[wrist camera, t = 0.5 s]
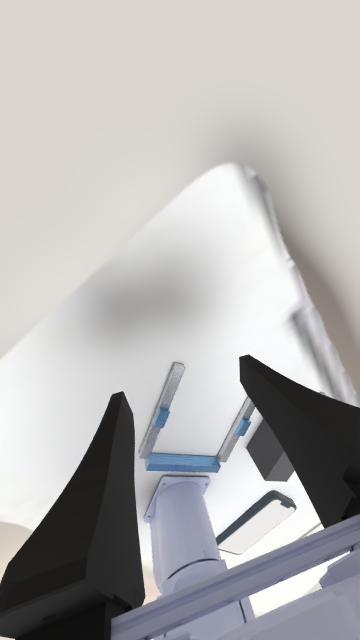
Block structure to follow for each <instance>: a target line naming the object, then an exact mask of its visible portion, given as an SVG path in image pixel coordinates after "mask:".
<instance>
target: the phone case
mask: <svg viewBox="0 0 360 640" xmlns="http://www.w3.org/2000/svg"><path fill="white" fill-rule="evenodd" d="M295 510H296V505H295V504H294V502H293V500H291V499H289V498H287V497H286V496H284V495H282V494H280V493H278V492H276V491H270V492H268V493H267V494H266V495H265V496H264V497H262V498H261V499H260V500H259V501H258V502H257V503H255V504H254V505H253V506H252V507H251V508H250V509H249V510H247V511H246V512H245V513H244V514H243V515H242V516H241V517H239V518H238V519H237V520H236V521H235V522H234V523H233V524H231V525H230V526H229V527H228V528H227V529H226V530H225V531H224V532H222V533H221V534H220V535H219V536H218V537H217V538H216V542H217V546H218V549H219V550H222V551H226V552H229V553H233V554H237V555H238V554H242V553H243V552H245V551H246V550H247V549H248V548H250V547H251V546H252V545H253V544H255V543H256V542H257V541H258V540H260V539H261V538H262V537H263V536H265V535H266V534H267V533H268V532H270V531H271V530H272V529H273V528H275V527H276V526H277V525H278V524H280V523H281V522H282V521H283V520H285V519H286V518H287V517H288V516H290V515H291V514H292V513H293V512H295Z"/></svg>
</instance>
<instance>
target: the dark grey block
mask: <svg viewBox="0 0 360 640" xmlns="http://www.w3.org/2000/svg"><path fill="white" fill-rule="evenodd" d="M246 449H247V450H248V452H249V454H250V456H251V457H252V459H253V461H254V463H255V464H256V466H257V468H258V470H259V471H260V473H261V475H262V477H263V478H264V480H265V481H283V482H287V481H288V479H289V478H290V476H291V475H292V473H293V472H294V470H295V469H294V468H293V466H292V464H291V462H290V460H289V459H288V457H287V455H286V453H285V451H284V450H283V448H282V446H281V444H280V443H279V441H278V439H277V437H276V436H275V434H274V433H273V431H272V430H271V428H270V427H269V425H268V424H267V422H266V421H265V419H263V421H262V422H261V424H260V426H259V427H258V429H257V431H256V432H255V434H254V436H253V437H252V439H251V441H250V442H249V444H248V446H247V447H246Z"/></svg>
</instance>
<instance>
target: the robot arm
mask: <svg viewBox="0 0 360 640" xmlns="http://www.w3.org/2000/svg"><path fill="white" fill-rule="evenodd" d="M239 362H240V382H241V384H242V386H243V388H244V389H245V391H246V393H247V395H248V397H249V398H250V399H251V401H252V402H253V404H254V405H255V407H256V408H257V410H258V411H259V412H260V414H261V415H262V417H263V418H264V419H265V421H266V422H267V424H268V425H269V427H270V428H271V430H272V431H273V433H274V434H275V436H276V437H277V439H278V441H279V443H280V444H281V446H282V448H283V450H284V451H285V453H286V455H287V457H288V459H289V460H290V462H291V464H292V466H293V468H294V469H295V471H296V473H297V475H298V477H299V479H300V481H301V483H302V485H303V486H304V488H305V490H306V492H307V494H308V496H309V498H310V500H311V502H312V504H313V506H314V508H315V510H316V512H317V514H318V516H319V518H320V521H321V523H322V525H323V527H324V528H325V529H323V530H321V531H318V532H316V533H314V534H311V535H309V536H306V537H304V538H302V539H299V540H297V541H295V542H292V543H290V544H288V545H285V546H283V547H280V548H278V549H276V550H273V551H271V552H269V553H266V554H264V555H261V556H259V557H257V558H254V559H252V560H250V561H247V562H245V563H243V564H240V565H238V566H235V567H233V568H231V569H227V566H226V562H225V560H224V559H223V560H221V556H220V553H219V549H218V546H217V542H216V539H215V535H214V532H213V528H212V525H211V522H210V518H209V515H208V511H207V508H206V504H205V501H204V497H203V495H204V493H205V491H206V489H207V487H208V485H209V483H210V478H209V477H163V478H162V479H161V481H160V483H159V486H158V488H157V490H156V492H155V495H154V497H153V499H152V501H151V504H150V506H149V508H148V510H147V513H146V515H145V517H144V522H145V523H150V529H151V543H152V558H153V572H154V578H155V582H156V585H157V587H158V589H159V591H160V593H161V594H162V595H161V596H158V597H157V599H156V600H155V601H153V602H150V603H148V604H146V605H143V606H142V604H143V602H144V599H145V589H144V581H143V572H142V563H141V554H140V544H139V534H138V523H137V511H136V499H135V485H134V454H135V430H134V419H133V413H132V411H131V408H130V406H129V404H128V401H127V399H126V397H125V394H124V392H123V391H122V392H119V393H115V394H112V396H111V398H110V401H109V403H108V406H107V409H106V411H105V414H104V416H103V418H102V421H101V423H100V425H99V427H98V430H97V432H96V434H95V436H94V438H93V440H92V442H91V444H90V446H89V448H88V450H87V452H86V454H85V456H84V457H83V459H82V461H81V463H80V464H79V466H78V468H77V470H76V471H75V473H74V474H73V476H72V478H71V479H70V481H69V482H68V484H67V486H66V487H65V489H64V490H63V492H62V493H61V495H60V496H59V498H58V499H57V500H56V502H55V503H54V505H53V506H52V507H51V509H50V510H49V512H48V513H47V514H46V516H45V517H44V519H43V520H42V521H41V523H40V524H39V525H38V527H37V528H36V529H35V531H34V532H33V533H32V535H31V536H30V537H29V539H28V540H27V541H26V542H25V543H24V545H23V546H22V547H21V549H20V550H19V551H18V552H17V554H16V555H15V556H14V557H13V558H12V560H11V561H10V562H9V563H8V565H7V568H6V570H5V573H4V575H3V578H2V580H1V583H0V636H2V637H8V638H13V639H15V640H151V639H153V638H154V640H360V408H358V407H355V406H352V405H349V404H346V403H343V402H341V401H338V400H335V399H333V398H330V397H327V396H325V395H322V394H320V393H318V392H315V391H313V390H311V389H309V388H306V387H304V386H302V385H300V384H298V383H296V382H294V381H292V380H290V379H289V378H287V377H285V376H283V375H281V374H280V373H278V372H276V371H275V370H273V369H271V368H270V367H268V366H266V365H265V364H263V363H261V362H260V361H258V360H257V359H255V358H253V357H252V356H250V355H249V354H248V355H245V356H241V357H239ZM349 551H350V553H349V554H347V555H346V556H344V557H342V558H341V559H339V560H337V561H336V562H334V563H332V564H331V565H329V566H328V571H327V572H326V574H325V575H324V576H323V577H322V578H320V581H319V583H320V585H321V587H322V589H320V590H318V591H315V592H313V593H310V594H308V595H306V596H303V597H301V598H299V599H297V600H294V601H292V602H290V603H287V604H285V605H283V606H281V607H279V608H277V609H274V610H272V611H270V612H268V613H266V614H264V615H262V616H259V617H257V618H255V616H254V612H253V609H252V606H251V603H250V600H249V597H248V596H250V595H252V594H254V593H257V592H259V591H261V590H263V589H266V588H268V587H270V586H272V585H275V584H277V583H279V582H281V581H284V580H286V579H288V578H290V577H293V576H295V575H297V574H299V573H302V572H304V571H306V570H308V569H311V568H313V567H315V566H317V565H320V564H322V563H324V562H326V561H329V560H331V559H333V558H335V557H338V556H340V555H342V554H344V553H347V552H349ZM162 596H163V597H162Z"/></svg>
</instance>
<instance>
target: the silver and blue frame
mask: <svg viewBox="0 0 360 640" xmlns="http://www.w3.org/2000/svg"><path fill="white" fill-rule="evenodd" d="M184 370H185V366H184V364H179V363H174V365H173V367H172V370H171V372H170V375H169V377H168V380H167V383H166V385H165V388H164V390H163V393H162V395H161V398H160V400H159V403H158V406H157V408H156V411H155V413H154V416H153V418H152V421H151V424H150V426H149V429H148V431H147V434H146V436H145V439H144V442H143V444H142V447H141V449H140V452H139V458H146V459H145V462H146V471H180V472H215V473H218V471H219V469H220V467H221V466H220V464H219V462H226V461H227V459H228V457H229V455H230V453H231V451H232V450H233V448H234V446H235V444H236V442H237V440H238V438H239V437H240V436H244V435H245V433H246V431H247V429H248V427H249V426H250V424H251V422H250V420H249V418H250V416H251V414H252V412H253V411H254V409H255V405H254V404H253V402H252V401H251V399H250V398H249V397H248V398H247V399H246V401H245V403H244V405H243V407H242V409H241V411H240V413H239V415H238V417H237V419H236V421H235V423H234V425H233V426H232V428H231V430H230V432H229V434H228V436H227V438H226V440H225V442H224V444H223V446H222V448H221V450H220V451H219V453H218V455H217V457H211V456H193V455H176V454H158V453H151V451H152V449H153V446H154V444H155V441H156V439H157V436H158V434H159V431H160V429H161V428H163V427H164V425H165V422H166V420H167V418H168V415H169V413H170V412H169V407H170V405H171V402H172V400H173V397H174V395H175V392H176V390H177V387H178V385H179V382H180V380H181V378H182V375H183V373H184ZM320 394H322V395H325V396H327V395H326V394H323V393H320ZM327 397H329V396H327Z"/></svg>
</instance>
